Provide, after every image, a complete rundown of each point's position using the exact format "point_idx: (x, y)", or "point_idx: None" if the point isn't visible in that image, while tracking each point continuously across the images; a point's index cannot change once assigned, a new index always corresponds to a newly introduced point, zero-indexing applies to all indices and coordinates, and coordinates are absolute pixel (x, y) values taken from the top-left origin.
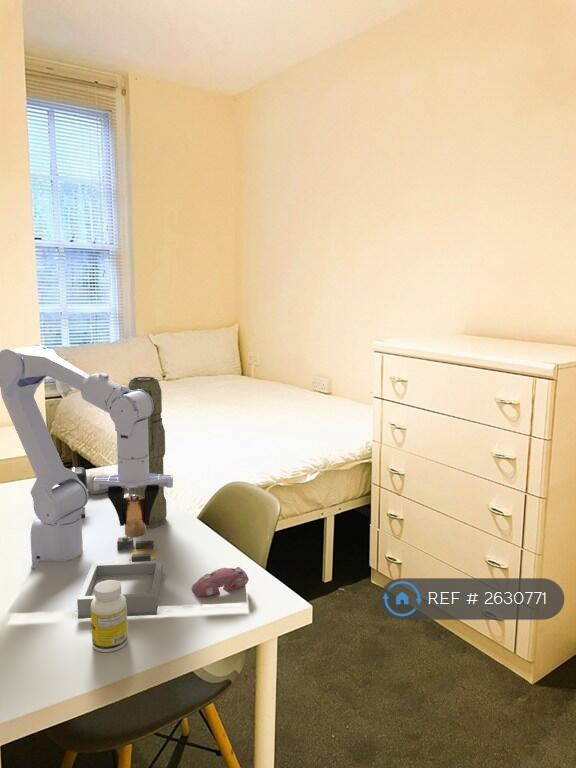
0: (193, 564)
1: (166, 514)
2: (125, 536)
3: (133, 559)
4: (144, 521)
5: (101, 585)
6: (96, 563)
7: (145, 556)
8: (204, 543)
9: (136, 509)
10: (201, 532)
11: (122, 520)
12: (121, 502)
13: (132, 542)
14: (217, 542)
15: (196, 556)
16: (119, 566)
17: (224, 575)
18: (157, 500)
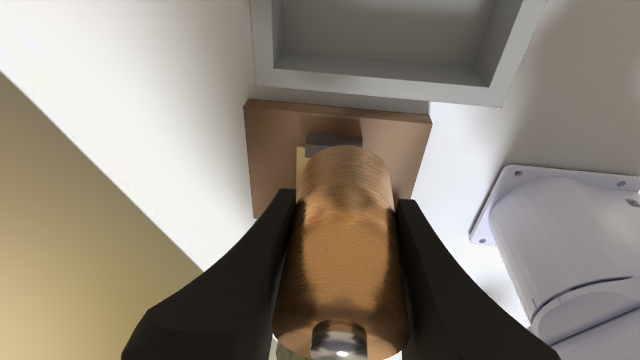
0: (192, 126)
1: None
2: None
3: (357, 143)
4: (297, 205)
5: None
6: (487, 105)
7: (320, 144)
8: (189, 218)
9: (328, 249)
10: (207, 260)
11: (408, 215)
12: (431, 305)
13: None
14: (159, 217)
15: (194, 165)
16: (406, 78)
17: None
18: (293, 353)
